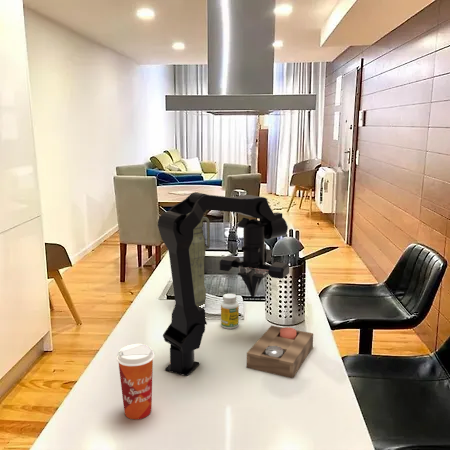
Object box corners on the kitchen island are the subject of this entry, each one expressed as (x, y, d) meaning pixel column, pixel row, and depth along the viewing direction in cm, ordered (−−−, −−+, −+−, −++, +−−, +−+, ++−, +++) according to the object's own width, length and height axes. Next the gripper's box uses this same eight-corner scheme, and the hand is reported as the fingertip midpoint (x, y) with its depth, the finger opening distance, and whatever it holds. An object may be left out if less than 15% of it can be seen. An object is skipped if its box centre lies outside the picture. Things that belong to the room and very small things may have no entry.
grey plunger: (279, 367, 116) (279, 355, 115) (262, 363, 118) (262, 351, 117) (285, 359, 120) (285, 347, 119) (268, 356, 122) (269, 344, 121)
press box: (292, 378, 113) (293, 363, 112) (246, 367, 118) (246, 352, 118) (312, 347, 129) (313, 333, 128) (271, 338, 134) (271, 325, 133)
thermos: (175, 301, 162) (172, 201, 155) (209, 300, 163) (208, 200, 156) (174, 311, 154) (172, 205, 146) (210, 310, 155) (210, 205, 147)
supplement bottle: (229, 320, 147) (229, 291, 145) (242, 325, 143) (242, 295, 141) (217, 325, 143) (217, 295, 141) (229, 331, 139) (229, 300, 137)
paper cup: (123, 426, 95) (120, 363, 92) (116, 406, 102) (113, 346, 99) (161, 417, 98) (159, 355, 95) (151, 398, 105) (149, 339, 102)
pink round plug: (293, 346, 125) (293, 335, 125) (277, 343, 127) (277, 332, 127) (298, 340, 129) (298, 329, 129) (282, 336, 131) (283, 326, 130)
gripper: (296, 238, 131) (294, 292, 134) (234, 232, 139) (234, 283, 142) (283, 248, 121) (281, 305, 124) (217, 240, 129) (218, 294, 132)
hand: (253, 296), depth 131 cm, fingers closed
